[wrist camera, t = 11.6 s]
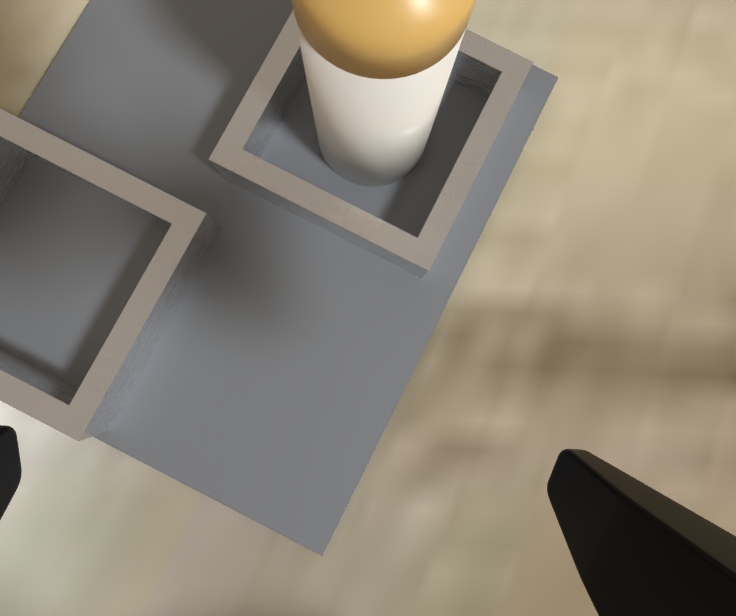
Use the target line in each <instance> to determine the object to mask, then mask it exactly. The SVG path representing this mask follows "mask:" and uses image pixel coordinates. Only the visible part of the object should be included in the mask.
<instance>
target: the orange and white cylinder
mask: <svg viewBox="0 0 736 616" xmlns="http://www.w3.org/2000/svg"><path fill="white" fill-rule="evenodd" d="M291 1H292V6H293V11H294V16H295V22H296V27H297V32H298V37H299V43H300V48H301V53H302V58H303V63H304V69H305V74H306V79H307V84H308V90H309V95H310V100H311V105H312V111H313V116H314V121H315V126H316V131H317V137H318V142H319V147H320V150H321V153H322V155H323V157H324V159H325V161H326V162H327V164H328V165H329V166H330V167H331V169H332V170H333V171H334V172H335V173H337V174H338V175H339V176H340V177H342V178H343V179H345V180H347V181H349V182H351V183H354V184H357V185H361V186H368V187H379V186H385V185H389V184H392V183H394V182H396V181H399V180H400V179H402V178H404V177H405V176H406V175H408V174H409V173H410V172H411V171H412V170H413V169H414V168H415V167H416V165H417V164H418V162H419V161H420V159H421V157H422V155H423V152H424V149H425V146H426V143H427V140H428V137H429V135H430V132H431V129H432V126H433V123H434V120H435V117H436V114H437V111H438V108H439V105H440V103H441V100H442V97H443V94H444V91H445V88H446V85H447V82H448V79H449V76H450V73H451V70H452V68H453V65H454V62H455V59H456V56H457V53H458V50H459V47H460V44H461V41H462V38H463V36H464V33H465V30H466V27H467V24H468V21H469V18H470V15H471V12H472V9H473V6H474V3H475V1H476V0H291Z"/></svg>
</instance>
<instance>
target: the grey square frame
mask: <svg viewBox="0 0 736 616" xmlns="http://www.w3.org/2000/svg"><path fill="white" fill-rule="evenodd" d="M33 156H35V157H37V158H39V159H41V160H43V161H45V162H47V163H48V164H50V165H52V166H54V167H56V168H58V169H60V170H62V171H64V172H66V173H68V174H70V175H72V176H74V177H76V178H78V179H80V180H82V181H84V182H86V183H88V184H90V185H92V186H94V187H96V188H98V189H99V190H101V191H103V192H105V193H107V194H109V195H111V196H113V197H115V198H117V199H119V200H121V201H123V202H125V203H127V204H129V205H131V206H133V207H135V208H137V209H139V210H141V211H143V212H145V213H147V214H149V215H150V216H152V217H154V218H156V219H158V220H160V221H162V222H164V223H166V224H168V225H170V228H169V230H168V232H167V233H166V235H165V237H164V239H163V241H162V242H161V244H160V246H159V248H158V249H157V251H156V253H155V255H154V256H153V258H152V260H151V262H150V263H149V265H148V267H147V269H146V271H145V272H144V274H143V276H142V278H141V279H140V281H139V283H138V285H137V286H136V288H135V290H134V292H133V293H132V295H131V297H130V299H129V301H128V302H127V304H126V306H125V308H124V309H123V311H122V313H121V315H120V316H119V318H118V320H117V322H116V323H115V325H114V327H113V329H112V331H111V332H110V334H109V336H108V338H107V339H106V341H105V343H104V345H103V346H102V348H101V350H100V352H99V354H98V355H97V357H96V359H95V361H94V362H93V364H92V366H91V368H90V369H89V371H88V373H87V375H86V376H85V378H84V380H83V382H82V384H81V385H80V387H79V388H78V387H76V386H74V385H72V384H70V383H68V382H66V381H64V380H63V379H61V378H59V377H57V376H55V375H53V374H51V373H49V372H47V371H45V370H43V369H41V368H39V367H37V366H36V365H34V364H32V363H30V362H28V361H26V360H24V359H22V358H20V357H18V356H16V355H14V354H12V353H10V352H9V351H7V350H5V349H3V348H1V347H0V400H1V401H2V402H4V403H6V404H8V405H10V406H12V407H14V408H16V409H18V410H20V411H22V412H24V413H26V414H27V415H29V416H31V417H33V418H35V419H37V420H39V421H41V422H43V423H45V424H47V425H49V426H50V427H52V428H54V429H56V430H58V431H60V432H62V433H64V434H66V435H68V436H70V437H72V438H73V439H75V440H77V441H81V440H84V439H87V438H90V437H92V436H95V435H98V434H101V433H104V432H107V431H109V429H110V428H111V426H112V424H113V422H114V420H115V419H116V417H117V415H118V413H119V411H120V410H121V408H122V406H123V404H124V402H125V401H126V399H127V397H128V395H129V393H130V392H131V390H132V388H133V386H134V384H135V383H136V381H137V379H138V377H139V375H140V374H141V372H142V370H143V368H144V366H145V365H146V363H147V361H148V359H149V357H150V356H151V354H152V352H153V350H154V348H155V347H156V345H157V343H158V341H159V339H160V338H161V336H162V334H163V332H164V330H165V329H166V327H167V325H168V323H169V321H170V319H171V318H172V316H173V314H174V312H175V310H176V309H177V307H178V305H179V303H180V301H181V300H182V298H183V296H184V294H185V292H186V291H187V289H188V287H189V285H190V283H191V282H192V280H193V278H194V276H195V274H196V273H197V271H198V269H199V267H200V265H201V264H202V262H203V260H204V258H205V256H206V255H207V253H208V251H209V249H210V247H211V246H212V244H213V242H214V240H215V238H216V237H217V235H218V233H219V231H220V229H221V228H222V226H220V225H219V224H218V223H217V222H216V221H215V220H214V219H212V218H211V217H210V216H209V215H208V214H207V213H205V212H203V211H201V210H199V209H197V208H195V207H193V206H191V205H189V204H187V203H185V202H183V201H181V200H179V199H177V198H175V197H173V196H172V195H170V194H168V193H166V192H164V191H162V190H160V189H158V188H156V187H154V186H152V185H150V184H148V183H146V182H144V181H142V180H140V179H138V178H136V177H134V176H132V175H130V174H128V173H126V172H124V171H122V170H120V169H118V168H116V167H114V166H113V165H111V164H109V163H107V162H105V161H103V160H101V159H99V158H97V157H95V156H93V155H91V154H89V153H87V152H85V151H83V150H81V149H79V148H77V147H75V146H73V145H71V144H69V143H67V142H65V141H63V140H61V139H59V138H57V137H56V136H54V135H52V134H50V133H48V132H46V131H44V130H42V129H40V128H38V127H36V126H34V125H32V124H30V123H28V122H26V121H24V120H22V119H20V118H18V117H16V116H14V115H12V114H10V113H8V112H6V111H4V110H2V109H0V210H1V208H2V206H3V205H4V203H5V202H6V200H7V198H8V197H9V195H10V193H11V192H12V190H13V188H14V187H15V185H16V183H17V182H18V180H19V179H20V177H21V175H22V174H23V172H24V170H25V169H26V167H27V165H28V164H29V162H30V160H31V159H32V157H33Z"/></svg>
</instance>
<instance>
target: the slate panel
mask: <svg viewBox="0 0 736 616" xmlns="http://www.w3.org/2000/svg"><path fill="white" fill-rule="evenodd" d="M292 11H293V6H292V1H291V0H91V1H90V2H89V4H88V6H87V7H86V9H85V10H84V12H83V14H82V15H81V17H80V19H79V20H78V22H77V23H76V25H75V27H74V28H73V30H72V31H71V33H70V35H69V36H68V38H67V40H66V41H65V43H64V44H63V46H62V48H61V49H60V51H59V53H58V54H57V56H56V57H55V59H54V61H53V62H52V64H51V65H50V67H49V69H48V70H47V72H46V74H45V75H44V77H43V78H42V80H41V82H40V83H39V85H38V87H37V88H36V90H35V91H34V93H33V95H32V96H31V98H30V99H29V101H28V103H27V104H26V106H25V108H24V109H23V111H22V112H21V114H20V116H19V117H18V118H20V119H22V120H24V121H26V122H28V123H30V124H32V125H34V126H36V127H38V128H40V129H42V130H44V131H46V132H48V133H50V134H52V135H54V136H56V137H57V138H59V139H61V140H63V141H65V142H67V143H69V144H71V145H73V146H75V147H77V148H79V149H81V150H83V151H85V152H87V153H89V154H91V155H93V156H95V157H97V158H99V159H101V160H103V161H105V162H107V163H109V164H111V165H113V166H114V167H116V168H118V169H120V170H122V171H124V172H126V173H128V174H130V175H132V176H134V177H136V178H138V179H140V180H142V181H144V182H146V183H148V184H150V185H152V186H154V187H156V188H158V189H160V190H162V191H164V192H166V193H168V194H170V195H172V196H173V197H175V198H177V199H179V200H181V201H183V202H185V203H187V204H189V205H191V206H193V207H195V208H197V209H199V210H201V211H203V212H205V213H207V214H208V215H209V216H210V217H211V218H212V219H214V220H215V221H216V222H217V223H218V224H219V225H220V226H222V228H221V229H220V231H219V233H218V235H217V237H216V238H215V240H214V242H213V244H212V246H211V247H210V249H209V251H208V253H207V255H206V256H205V258H204V260H203V262H202V264H201V265H200V267H199V269H198V271H197V273H196V274H195V276H194V278H193V280H192V282H191V283H190V285H189V287H188V289H187V291H186V292H185V294H184V296H183V298H182V300H181V301H180V303H179V305H178V307H177V309H176V310H175V312H174V314H173V316H172V318H171V319H170V321H169V323H168V325H167V327H166V329H165V330H164V332H163V334H162V336H161V338H160V339H159V341H158V343H157V345H156V347H155V348H154V350H153V352H152V354H151V356H150V357H149V359H148V361H147V363H146V365H145V366H144V368H143V370H142V372H141V374H140V375H139V377H138V379H137V381H136V383H135V384H134V386H133V388H132V390H131V392H130V393H129V395H128V397H127V399H126V401H125V402H124V404H123V406H122V408H121V410H120V411H119V413H118V415H117V417H116V419H115V420H114V422H113V424H112V426H111V428H110V429H109V431H107V432H104V433H101V434H98V435H95V436H93V437H95V438H97V439H99V440H101V441H103V442H105V443H106V444H108V445H110V446H112V447H114V448H116V449H118V450H120V451H122V452H124V453H126V454H128V455H130V456H131V457H133V458H135V459H137V460H139V461H141V462H143V463H145V464H147V465H149V466H151V467H153V468H155V469H156V470H158V471H160V472H162V473H164V474H166V475H168V476H170V477H172V478H174V479H176V480H178V481H179V482H181V483H183V484H185V485H187V486H189V487H191V488H193V489H195V490H197V491H199V492H201V493H203V494H204V495H206V496H208V497H210V498H212V499H214V500H216V501H218V502H220V503H222V504H224V505H226V506H227V507H229V508H231V509H233V510H235V511H237V512H239V513H241V514H243V515H245V516H247V517H249V518H251V519H252V520H254V521H256V522H258V523H260V524H262V525H264V526H266V527H268V528H270V529H272V530H274V531H276V532H277V533H279V534H281V535H283V536H285V537H287V538H289V539H291V540H293V541H295V542H297V543H299V544H300V545H302V546H304V547H306V548H308V549H310V550H312V551H314V552H316V553H318V554H320V555H323V553H324V551H325V549H326V547H327V545H328V543H329V541H330V539H331V537H332V535H333V533H334V531H335V529H336V527H337V525H338V523H339V521H340V519H341V517H342V515H343V513H344V511H345V508H346V506H347V504H348V502H349V500H350V498H351V496H352V494H353V492H354V490H355V488H356V486H357V484H358V482H359V480H360V478H361V476H362V474H363V472H364V470H365V468H366V466H367V464H368V462H369V460H370V458H371V456H372V454H373V452H374V450H375V448H376V446H377V444H378V442H379V440H380V438H381V436H382V434H383V431H384V429H385V427H386V425H387V423H388V421H389V419H390V417H391V415H392V413H393V411H394V409H395V407H396V405H397V403H398V401H399V399H400V397H401V395H402V393H403V391H404V389H405V387H406V385H407V383H408V381H409V379H410V377H411V375H412V373H413V371H414V369H415V367H416V365H417V363H418V361H419V359H420V357H421V354H422V352H423V350H424V348H425V346H426V344H427V342H428V340H429V338H430V336H431V334H432V332H433V330H434V328H435V326H436V324H437V322H438V320H439V318H440V316H441V314H442V312H443V310H444V308H445V306H446V304H447V302H448V300H449V298H450V296H451V294H452V292H453V290H454V288H455V286H456V284H457V282H458V280H459V277H460V275H461V273H462V271H463V269H464V267H465V265H466V263H467V261H468V259H469V257H470V255H471V253H472V251H473V249H474V247H475V245H476V243H477V241H478V239H479V237H480V235H481V233H482V231H483V229H484V227H485V225H486V223H487V221H488V219H489V217H490V215H491V213H492V211H493V209H494V207H495V205H496V203H497V200H498V198H499V196H500V194H501V192H502V190H503V188H504V186H505V184H506V182H507V180H508V178H509V176H510V174H511V172H512V170H513V168H514V166H515V164H516V162H517V160H518V158H519V156H520V154H521V152H522V150H523V148H524V146H525V144H526V142H527V140H528V138H529V136H530V134H531V132H532V130H533V128H534V126H535V123H536V121H537V119H538V117H539V115H540V113H541V111H542V109H543V107H544V105H545V103H546V101H547V99H548V97H549V95H550V93H551V91H552V89H553V87H554V85H555V83H556V81H557V79H558V77H556V76H554V75H552V74H550V73H548V72H546V71H544V70H542V69H540V68H538V67H536V66H534V65H532V66H531V68H530V70H529V72H528V74H527V76H526V78H525V80H524V82H523V84H522V86H521V88H520V90H519V92H518V94H517V96H516V98H515V100H514V102H513V104H512V106H511V108H510V110H509V112H508V114H507V116H506V118H505V120H504V122H503V124H502V126H501V128H500V130H499V132H498V134H497V136H496V138H495V140H494V142H493V144H492V146H491V148H490V150H489V152H488V154H487V156H486V158H485V160H484V162H483V164H482V166H481V168H480V170H479V172H478V174H477V176H476V178H475V180H474V182H473V184H472V186H471V188H470V190H469V192H468V194H467V196H466V198H465V200H464V202H463V204H462V206H461V208H460V210H459V212H458V214H457V216H456V218H455V220H454V222H453V224H452V226H451V228H450V230H449V232H448V234H447V236H446V238H445V240H444V242H443V244H442V246H441V248H440V250H439V252H438V254H437V256H436V258H435V260H434V262H433V264H432V266H431V268H430V270H429V271H428V272H427V273H426V274H425V275H424V276H423V278H422V279H421V278H420V277H418V276H416V275H414V274H412V273H410V272H408V271H406V270H404V269H402V268H400V267H398V266H396V265H394V264H392V263H390V262H388V261H386V260H384V259H382V258H380V257H378V256H376V255H374V254H372V253H370V252H368V251H366V250H364V249H362V248H360V247H358V246H356V245H354V244H352V243H350V242H348V241H347V240H345V239H343V238H341V237H339V236H337V235H335V234H333V233H331V232H329V231H327V230H325V229H323V228H321V227H319V226H317V225H315V224H313V223H311V222H309V221H307V220H305V219H303V218H301V217H299V216H297V215H295V214H293V213H291V212H289V211H287V210H285V209H283V208H281V207H279V206H277V205H275V204H273V203H272V202H270V201H268V200H266V199H264V198H262V197H260V196H258V195H256V194H254V193H252V192H250V191H248V190H246V189H244V188H242V187H240V186H238V185H236V184H234V183H232V182H230V181H228V180H226V179H224V178H223V177H222V176H221V174H220V173H219V172H218V171H217V169H216V168H215V167H214V166H213V164H212V163H211V162H210V161H209V158H210V156H211V154H212V152H213V151H214V149H215V147H216V145H217V143H218V142H219V140H220V138H221V136H222V135H223V133H224V131H225V129H226V128H227V126H228V124H229V122H230V121H231V119H232V117H233V115H234V113H235V112H236V110H237V108H238V106H239V105H240V103H241V101H242V99H243V98H244V96H245V94H246V92H247V91H248V89H249V87H250V85H251V83H252V82H253V80H254V78H255V76H256V75H257V73H258V71H259V69H260V68H261V66H262V64H263V62H264V60H265V59H266V57H267V55H268V53H269V52H270V50H271V48H272V46H273V45H274V43H275V41H276V39H277V38H278V36H279V34H280V32H281V30H282V29H283V27H284V25H285V23H286V22H287V20H288V18H289V16H290V15H291V13H292ZM486 101H487V98H485V97H483V96H481V95H479V94H477V93H475V92H473V91H471V90H469V89H467V88H465V87H463V86H461V85H459V84H457V83H455V82H453V81H451V80H449V79H448V82H447V85H446V88H445V91H444V94H443V97H442V100H441V103H440V105H439V108H438V111H437V114H436V117H435V120H434V123H433V126H432V129H431V132H430V135H429V137H428V140H427V143H426V146H425V149H424V152H423V155H422V157H421V159H420V161H419V162H418V164H417V165H416V167H415V168H414V169H413V170H412V171H411V172H410V173H409V174H408V175H406V176H405V177H404V178H402V179H400V180H399V181H396V182H394V183H392V184H389V185H385V186H379V187H368V186H361V185H357V184H354V183H351V182H349V181H347V180H345V179H343V178H342V177H340V176H339V175H338V174H337V173H335V172H334V171H333V170H332V169H331V167H330V166H329V165H328V164H327V162H326V161H325V159H324V157H323V155H322V153H321V150H320V147H319V142H318V137H317V131H316V126H315V121H314V116H313V111H312V105H311V100H310V95H309V90H308V84H307V79H306V76H305V78H304V80H303V81H302V83H301V85H300V87H299V89H298V90H297V92H296V94H295V96H294V98H293V99H292V101H291V103H290V105H289V107H288V108H287V110H286V112H285V114H284V116H283V118H282V119H281V121H280V123H279V125H278V127H277V128H276V130H275V132H274V134H273V136H272V137H271V139H270V141H269V143H268V145H267V146H266V148H265V150H264V152H263V154H262V155H261V157H260V158H261V159H262V160H264V161H266V162H268V163H270V164H272V165H274V166H276V167H278V168H280V169H282V170H284V171H286V172H288V173H290V174H292V175H294V176H296V177H298V178H300V179H302V180H304V181H306V182H308V183H310V184H312V185H314V186H316V187H318V188H320V189H322V190H324V191H326V192H328V193H330V194H332V195H334V196H336V197H338V198H340V199H342V200H344V201H346V202H348V203H350V204H352V205H354V206H356V207H358V208H359V209H361V210H363V211H365V212H367V213H369V214H371V215H373V216H375V217H377V218H379V219H381V220H383V221H385V222H387V223H389V224H391V225H393V226H395V227H397V228H399V229H401V230H403V231H405V232H407V233H409V234H411V235H413V236H415V237H418V235H419V233H420V231H421V229H422V227H423V225H424V223H425V221H426V219H427V217H428V215H429V213H430V211H431V210H432V208H433V206H434V204H435V202H436V200H437V198H438V196H439V194H440V192H441V190H442V188H443V186H444V184H445V182H446V180H447V178H448V176H449V174H450V172H451V170H452V168H453V166H454V164H455V162H456V160H457V158H458V156H459V154H460V152H461V150H462V148H463V147H464V145H465V143H466V141H467V139H468V137H469V135H470V133H471V131H472V129H473V127H474V125H475V123H476V121H477V119H478V117H479V115H480V113H481V111H482V109H483V107H484V105H485V103H486ZM169 228H170V225H168V224H166V223H164V222H162V221H160V220H158V219H156V218H154V217H152V216H150V215H149V214H147V213H145V212H143V211H141V210H139V209H137V208H135V207H133V206H131V205H129V204H127V203H125V202H123V201H121V200H119V199H117V198H115V197H113V196H111V195H109V194H107V193H105V192H103V191H101V190H99V189H98V188H96V187H94V186H92V185H90V184H88V183H86V182H84V181H82V180H80V179H78V178H76V177H74V176H72V175H70V174H68V173H66V172H64V171H62V170H60V169H58V168H56V167H54V166H52V165H50V164H48V163H47V162H45V161H43V160H41V159H39V158H37V157H35V156H33V157H32V159H31V160H30V162H29V164H28V165H27V167H26V169H25V170H24V172H23V174H22V175H21V177H20V179H19V180H18V182H17V183H16V185H15V187H14V188H13V190H12V192H11V193H10V195H9V197H8V198H7V200H6V202H5V203H4V205H3V206H2V208H1V210H0V347H1V348H3V349H5V350H7V351H9V352H10V353H12V354H14V355H16V356H18V357H20V358H22V359H24V360H26V361H28V362H30V363H32V364H34V365H36V366H37V367H39V368H41V369H43V370H45V371H47V372H49V373H51V374H53V375H55V376H57V377H59V378H61V379H63V380H64V381H66V382H68V383H70V384H72V385H74V386H76V387H78V388H79V387H80V385H81V384H82V382H83V380H84V378H85V376H86V375H87V373H88V371H89V369H90V368H91V366H92V364H93V362H94V361H95V359H96V357H97V355H98V354H99V352H100V350H101V348H102V346H103V345H104V343H105V341H106V339H107V338H108V336H109V334H110V332H111V331H112V329H113V327H114V325H115V323H116V322H117V320H118V318H119V316H120V315H121V313H122V311H123V309H124V308H125V306H126V304H127V302H128V301H129V299H130V297H131V295H132V293H133V292H134V290H135V288H136V286H137V285H138V283H139V281H140V279H141V278H142V276H143V274H144V272H145V271H146V269H147V267H148V265H149V263H150V262H151V260H152V258H153V256H154V255H155V253H156V251H157V249H158V248H159V246H160V244H161V242H162V241H163V239H164V237H165V235H166V233H167V232H168V230H169Z"/></svg>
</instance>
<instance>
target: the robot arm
mask: <svg viewBox="0 0 736 616" xmlns="http://www.w3.org/2000/svg"><path fill="white" fill-rule="evenodd" d="M20 479H21V462H20V455H19V448H18V441H17V435H16V432H15V430H14V429H13V428H12V427H10V426H1V425H0V520H1V518H2V516H3V514H4V512H5V510H6V508H7V507H8V505H9V503H10V501H11V499H12V497H13V495H14V493H15V492H16V490H17V488H18V485H19V483H20ZM547 492H548V496H549V499H550V502H551V504H552V507H553V510H554V512H555V515H556V517H557V520H558V522H559V525H560V527H561V530H562V532H563V535H564V537H565V540H566V542H567V545H568V548H569V550H570V553H571V555H572V558H573V560H574V563H575V565H576V568H577V570H578V572H579V575H580V577H581V580H582V582H583V584H584V586H585V588H586V590H587V592H588V594H589V597H590V599H591V601H592V603H593V605H594V607H595V609H596V611H597V613H598V615H599V616H736V536H734V535H732V534H731V533H729V532H727V531H725V530H724V529H722V528H720V527H718V526H717V525H715V524H713V523H711V522H710V521H708V520H706V519H704V518H703V517H701V516H699V515H698V514H696V513H694V512H692V511H691V510H689V509H687V508H685V507H684V506H682V505H680V504H678V503H677V502H675V501H673V500H671V499H670V498H668V497H666V496H664V495H663V494H661V493H659V492H658V491H656V490H654V489H652V488H651V487H649V486H647V485H645V484H644V483H642V482H640V481H638V480H637V479H635V478H633V477H631V476H630V475H628V474H626V473H624V472H623V471H621V470H619V469H618V468H616V467H614V466H612V465H611V464H609V463H607V462H605V461H604V460H602V459H600V458H598V457H597V456H595V455H593V454H591V453H590V452H588V451H585V450H579V449H565V450H563V451H562V452H561V453H560V454H559V456H558V458H557V461H556V463H555V466H554V468H553V471H552V473H551V476H550V478H549V481H548V485H547Z"/></svg>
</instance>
